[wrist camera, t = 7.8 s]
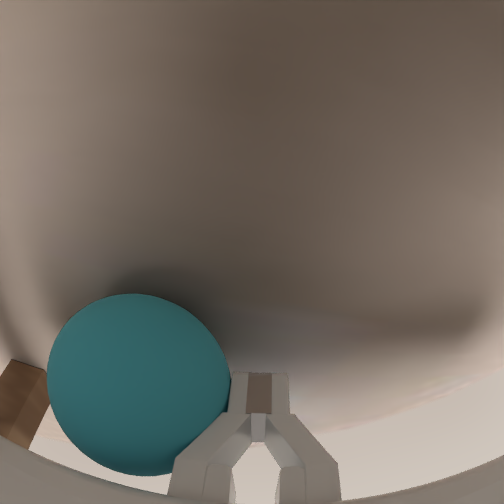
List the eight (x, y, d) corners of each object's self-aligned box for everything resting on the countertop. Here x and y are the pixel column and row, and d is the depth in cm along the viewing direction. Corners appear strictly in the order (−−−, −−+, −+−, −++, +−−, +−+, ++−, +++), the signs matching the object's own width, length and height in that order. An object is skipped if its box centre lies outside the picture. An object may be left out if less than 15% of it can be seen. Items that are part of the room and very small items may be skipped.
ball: (138, 221, 9) (-9, 356, 4) (291, 337, 10) (228, 517, 5) (102, 313, 13) (21, 409, 8) (209, 391, 13) (153, 501, 8)
